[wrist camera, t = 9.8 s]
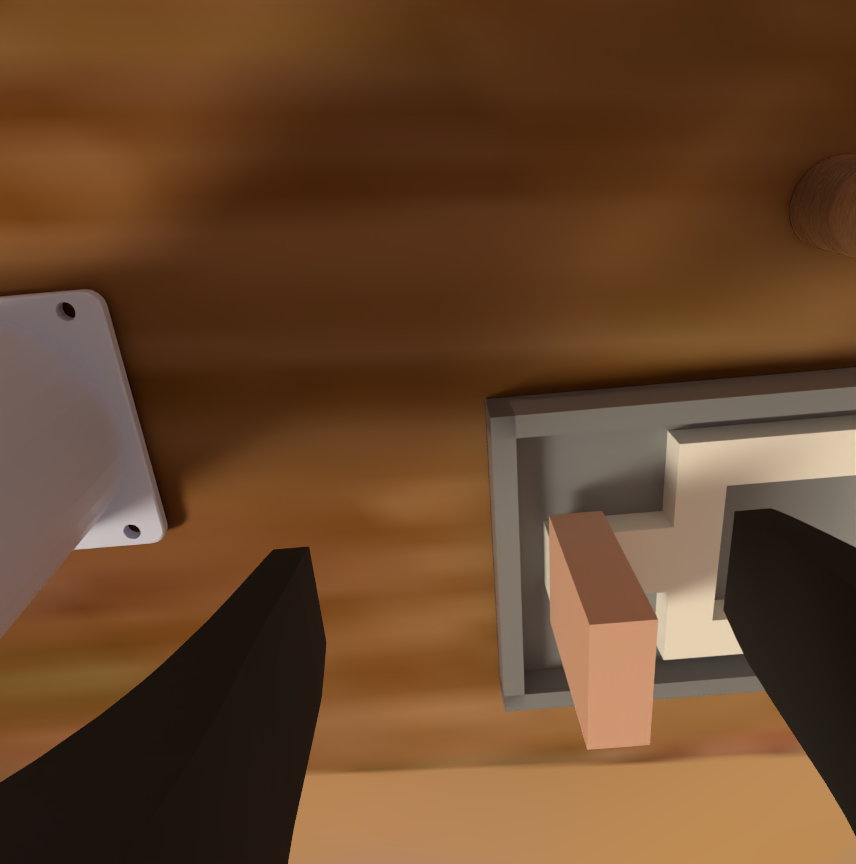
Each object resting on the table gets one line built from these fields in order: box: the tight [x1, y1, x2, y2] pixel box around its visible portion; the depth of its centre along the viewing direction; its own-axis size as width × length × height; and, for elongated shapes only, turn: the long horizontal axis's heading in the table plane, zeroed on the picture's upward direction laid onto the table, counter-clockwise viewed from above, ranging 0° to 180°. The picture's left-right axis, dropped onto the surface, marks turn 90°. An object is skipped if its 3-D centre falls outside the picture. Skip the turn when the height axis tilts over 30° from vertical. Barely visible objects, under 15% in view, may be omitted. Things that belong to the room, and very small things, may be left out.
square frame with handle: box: [543, 415, 856, 750], centre depth 19 cm, size 12×8×6 cm
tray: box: [485, 367, 856, 712], centre depth 22 cm, size 16×11×2 cm
